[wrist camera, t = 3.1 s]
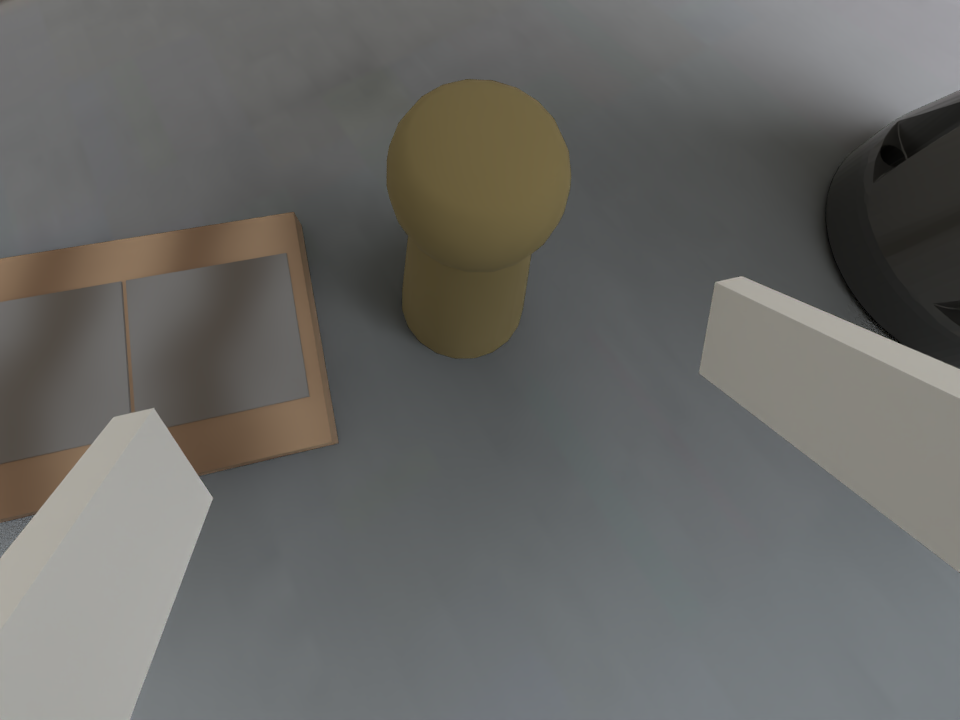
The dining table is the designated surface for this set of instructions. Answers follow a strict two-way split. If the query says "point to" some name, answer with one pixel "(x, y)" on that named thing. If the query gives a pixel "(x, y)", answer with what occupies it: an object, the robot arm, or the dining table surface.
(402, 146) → the cork
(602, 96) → the dining table surface
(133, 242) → the brown frame
